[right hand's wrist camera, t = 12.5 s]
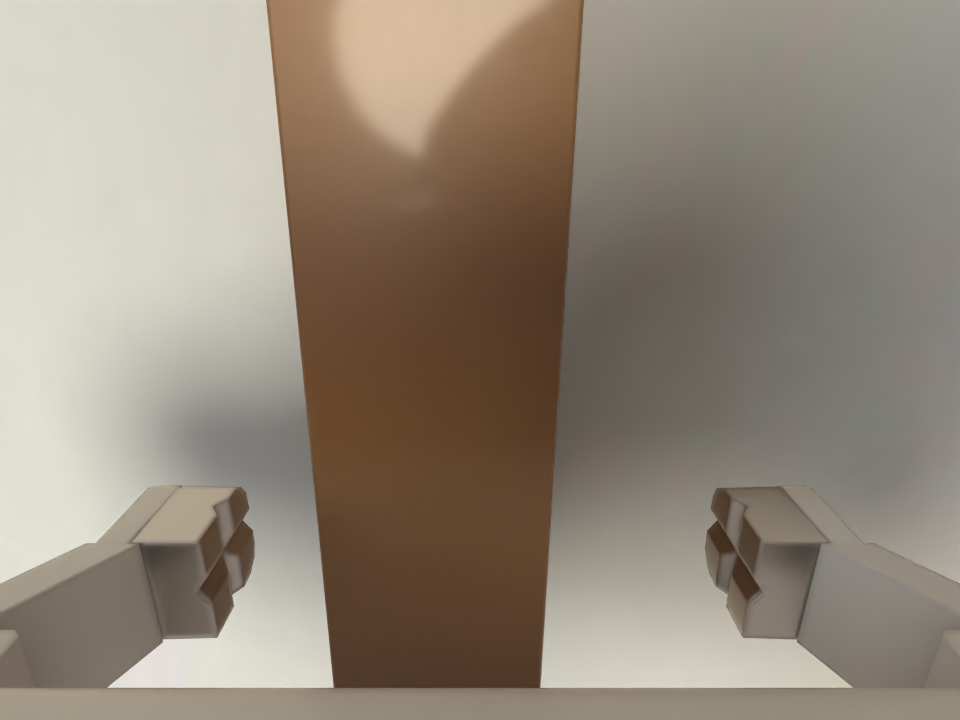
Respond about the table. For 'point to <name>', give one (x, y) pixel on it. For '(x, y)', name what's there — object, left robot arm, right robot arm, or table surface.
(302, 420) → the table surface
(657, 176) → the table surface
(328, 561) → the beam
